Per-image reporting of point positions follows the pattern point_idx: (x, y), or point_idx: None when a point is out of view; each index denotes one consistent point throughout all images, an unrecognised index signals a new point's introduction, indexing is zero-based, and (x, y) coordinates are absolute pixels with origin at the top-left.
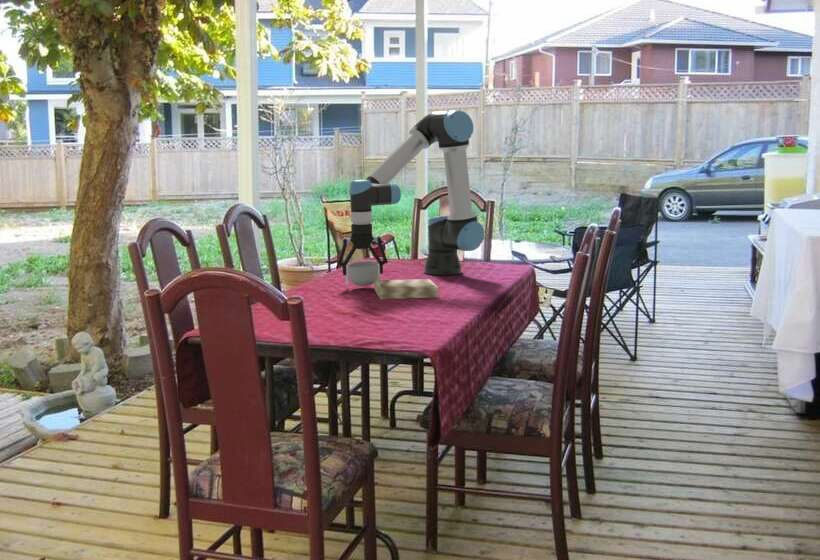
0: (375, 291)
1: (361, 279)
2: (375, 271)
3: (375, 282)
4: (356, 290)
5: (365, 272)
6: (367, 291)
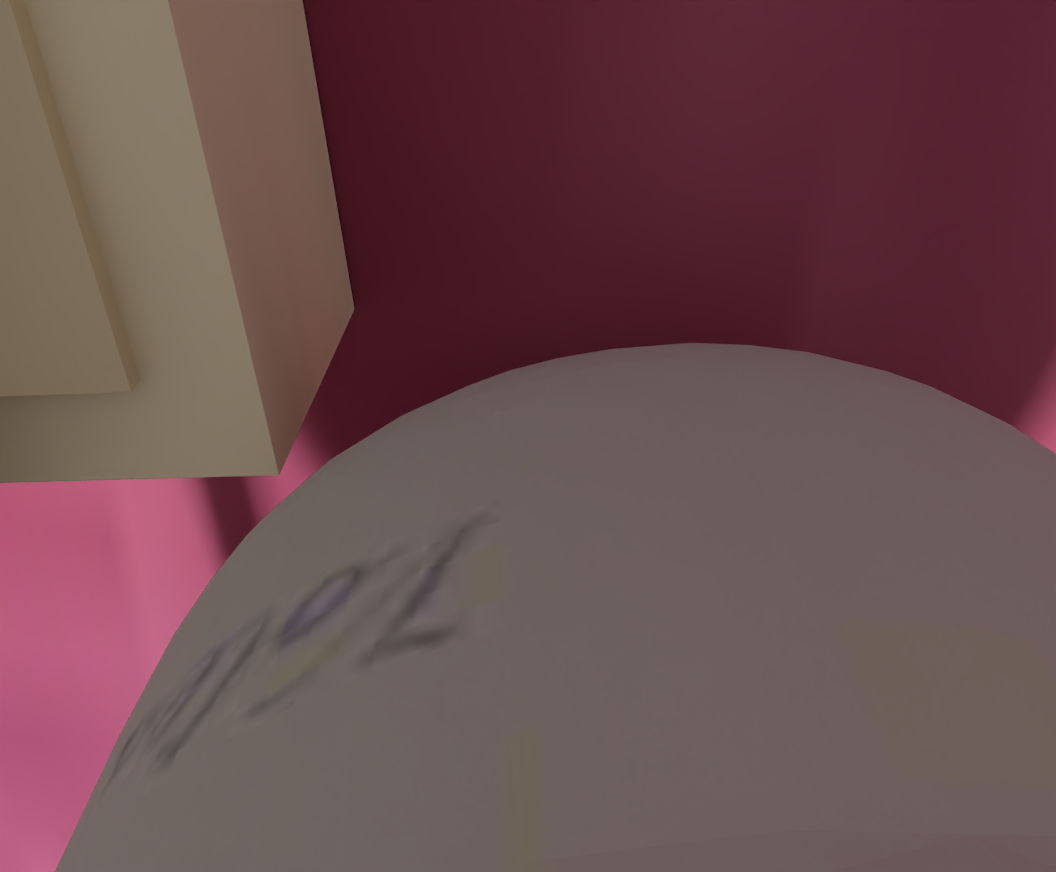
0: (310, 52)
1: (863, 378)
2: (93, 810)
3: (201, 102)
4: (900, 349)
5: (703, 571)
6: (582, 131)
